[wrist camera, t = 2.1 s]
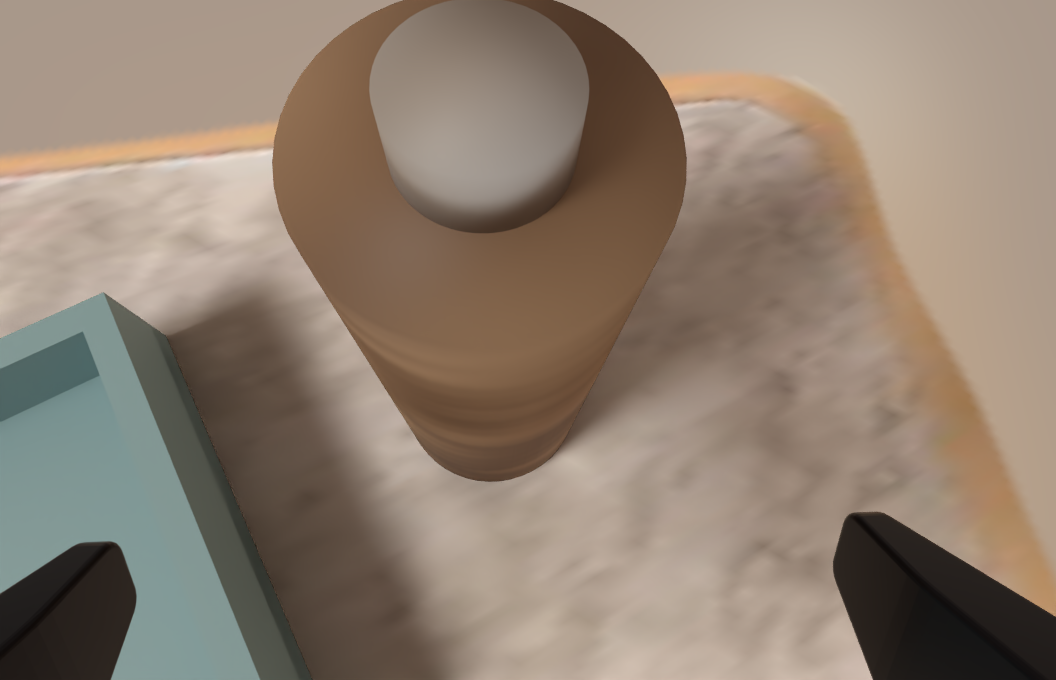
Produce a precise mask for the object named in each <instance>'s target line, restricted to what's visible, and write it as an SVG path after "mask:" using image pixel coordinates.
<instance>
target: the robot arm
mask: <svg viewBox="0 0 1056 680" xmlns="http://www.w3.org/2000/svg"><path fill="white" fill-rule="evenodd" d="M833 573H834V577H835V581H836V584H837V586H838V589H839V591H840V594H841V597H842V599H843V602H844V605H845V607H846V610H847V613H848V615H849V618H850V621H851V623H852V626H853V628H854V631H855V634H856V636H857V639H858V642H859V644H860V647H861V650H862V652H863V655H864V658H865V660H866V663H867V665H868V668H869V671H870V673H871V676H872V679H873V680H1056V617H1055V616H1053V615H1052V614H1050V613H1048V612H1047V611H1045V610H1044V609H1042V608H1040V607H1039V606H1037V605H1035V604H1034V603H1032V602H1030V601H1029V600H1027V599H1025V598H1024V597H1022V596H1020V595H1019V594H1017V593H1015V592H1014V591H1012V590H1010V589H1009V588H1007V587H1006V586H1004V585H1002V584H1001V583H999V582H997V581H996V580H994V579H992V578H991V577H989V576H987V575H986V574H984V573H982V572H981V571H979V570H977V569H976V568H974V567H972V566H971V565H969V564H968V563H966V562H964V561H963V560H961V559H959V558H958V557H956V556H954V555H953V554H951V553H949V552H948V551H946V550H944V549H943V548H941V547H939V546H938V545H936V544H935V543H933V542H931V541H930V540H928V539H926V538H925V537H923V536H921V535H920V534H918V533H916V532H915V531H913V530H911V529H910V528H908V527H906V526H905V525H903V524H901V523H900V522H898V521H897V520H895V519H893V518H892V517H890V516H888V515H886V514H884V513H881V512H857V513H851V514H849V515H848V516H847V517H846V518H845V521H844V523H843V527H842V530H841V534H840V538H839V541H838V545H837V548H836V552H835V556H834V560H833ZM136 601H137V594H136V588H135V585H134V582H133V580H132V577H131V574H130V571H129V568H128V566H127V563H126V560H125V557H124V554H123V552H122V549H121V547H120V546H119V545H118V544H117V543H115V542H111V541H100V542H83V543H78V544H76V545H74V546H72V547H71V548H69V549H68V550H66V551H65V552H63V553H61V554H60V555H58V556H57V557H55V558H54V559H52V560H51V561H49V562H48V563H46V564H45V565H43V566H42V567H40V568H38V569H37V570H35V571H34V572H32V573H31V574H29V575H28V576H26V577H25V578H23V579H22V580H20V581H19V582H17V583H16V584H14V585H12V586H11V587H9V588H8V589H6V590H5V591H3V592H2V593H0V680H111V678H112V675H113V672H114V669H115V666H116V664H117V661H118V658H119V655H120V652H121V649H122V646H123V643H124V641H125V638H126V635H127V632H128V629H129V626H130V623H131V620H132V618H133V615H134V611H135V608H136Z"/></svg>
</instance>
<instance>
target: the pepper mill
mask: <svg viewBox="0 0 1056 680" xmlns="http://www.w3.org/2000/svg"><path fill="white" fill-rule="evenodd" d="M686 161H687V157H686V150H685V143H684V135H683V132H682V128H681V125H680V121H679V118H678V114H677V112H676V110H675V107H674V105H673V103H672V101H671V98H670V96H669V94H668V92H667V90H666V89H665V87H664V86H663V84H662V82H661V81H660V79H659V77H658V76H657V74H656V73H655V72H654V70H653V69H652V68H651V67H650V65H649V64H648V63H647V62H646V61H645V59H644V58H643V57H642V56H641V55H640V54H639V53H638V52H637V51H636V50H635V49H634V48H633V47H632V46H631V45H630V44H629V43H628V42H627V41H626V40H625V39H623V38H622V37H620V36H619V35H618V34H617V33H615V32H614V31H613V30H611V29H610V28H608V27H607V26H606V25H604V24H603V23H600V22H599V21H597V20H596V19H594V18H592V17H590V16H589V15H587V14H585V13H583V12H581V11H579V10H577V9H574V8H572V7H570V6H567V5H565V4H563V3H560V2H557V1H554V0H403V1H400V2H397V3H394V4H392V5H389V6H387V7H385V8H383V9H380V10H378V11H376V12H374V13H372V14H370V15H368V16H367V17H365V18H363V19H361V20H360V21H358V22H356V23H355V24H353V25H352V26H350V27H349V28H348V29H346V30H345V31H343V32H342V33H341V34H340V35H338V36H337V37H336V38H334V39H333V40H332V41H331V42H330V43H329V44H328V45H327V46H326V47H325V48H324V49H323V50H322V51H321V52H319V53H318V54H317V55H316V56H315V58H314V59H313V60H312V62H311V63H310V64H309V65H308V67H307V68H306V69H305V70H304V72H303V73H302V74H301V76H300V77H299V79H298V81H297V82H296V84H295V86H294V88H293V89H292V91H291V93H290V94H289V96H288V99H287V101H286V104H285V106H284V109H283V111H282V113H281V115H280V119H279V123H278V127H277V131H276V135H275V139H274V150H273V160H272V165H273V181H274V189H275V194H276V198H277V203H278V207H279V211H280V214H281V216H282V219H283V221H284V224H285V226H286V229H287V231H288V234H289V235H290V237H291V239H292V241H293V242H294V244H295V246H296V247H297V249H298V251H299V253H300V254H301V256H302V258H303V259H304V261H305V262H306V264H307V266H308V267H309V269H310V270H311V272H312V273H313V275H314V277H315V278H316V280H317V281H318V283H319V284H320V286H321V288H322V289H323V291H324V292H325V294H326V296H327V297H328V299H329V300H330V302H331V303H332V305H333V307H334V308H335V310H336V311H337V313H338V315H339V316H340V318H341V319H342V321H343V322H344V324H345V326H346V327H347V329H348V330H349V332H350V334H351V335H352V337H353V338H354V340H355V341H356V343H357V345H358V346H359V348H360V349H361V351H362V353H363V354H364V356H365V357H366V359H367V360H368V362H369V364H370V365H371V367H372V368H373V370H374V372H375V373H376V375H377V376H378V378H379V379H380V381H381V383H382V384H383V386H384V387H385V389H386V391H387V392H388V394H389V395H390V397H391V398H392V400H393V402H394V403H395V405H396V406H397V408H398V410H399V411H400V413H401V414H402V416H403V417H404V419H405V421H406V422H407V424H408V425H409V427H410V429H411V430H412V432H413V433H414V435H415V436H416V438H417V440H418V441H419V443H420V444H421V446H422V447H423V448H424V450H425V451H426V452H427V453H428V455H429V456H431V457H432V458H433V459H434V460H435V461H436V462H437V463H438V464H440V465H441V466H442V467H444V468H445V469H447V470H449V471H451V472H453V473H454V474H457V475H459V476H462V477H465V478H468V479H473V480H477V481H487V482H491V481H504V480H509V479H513V478H517V477H520V476H523V475H525V474H527V473H529V472H531V471H533V470H535V469H536V468H538V467H539V466H541V465H542V464H543V463H545V462H546V461H547V460H548V459H549V458H551V456H552V455H553V454H554V453H555V452H556V451H557V450H558V448H559V447H560V446H561V444H562V443H563V441H564V440H565V438H566V436H567V434H568V432H569V430H570V428H571V426H572V424H573V422H574V420H575V418H576V416H577V414H578V413H579V411H580V409H581V407H582V405H583V403H584V401H585V399H586V397H587V395H588V393H589V391H590V389H591V388H592V386H593V384H594V382H595V380H596V378H597V376H598V374H599V372H600V370H601V368H602V366H603V364H604V362H605V361H606V359H607V357H608V355H609V353H610V351H611V349H612V347H613V345H614V343H615V341H616V339H617V337H618V335H619V334H620V332H621V330H622V328H623V326H624V324H625V322H626V320H627V318H628V316H629V314H630V312H631V310H632V308H633V307H634V305H635V303H636V301H637V299H638V297H639V295H640V293H641V291H642V289H643V287H644V285H645V283H646V281H647V280H648V278H649V276H650V274H651V272H652V270H653V268H654V266H655V264H656V262H657V260H658V258H659V256H660V254H661V253H662V251H663V249H664V247H665V245H666V243H667V241H668V239H669V237H670V235H671V233H672V231H673V229H674V227H675V224H676V221H677V218H678V215H679V212H680V209H681V206H682V202H683V197H684V191H685V185H686Z"/></svg>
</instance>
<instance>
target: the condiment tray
mask: <svg viewBox="0 0 1056 680" xmlns="http://www.w3.org/2000/svg"><path fill="white" fill-rule="evenodd" d="M100 541H111V542H115V543H117V544H118V545H119V546H120V547H121V549H122V552H123V554H124V557H125V560H126V563H127V566H128V568H129V571H130V574H131V577H132V580H133V582H134V585H135V588H136V594H137V601H136V608H135V611H134V615H133V618H132V620H131V623H130V626H129V629H128V632H127V635H126V638H125V641H124V643H123V646H122V649H121V652H120V655H119V658H118V661H117V664H116V666H115V669H114V672H113V675H112V678H111V680H312V678H311V676H310V673H309V671H308V669H307V666H306V664H305V662H304V659H303V657H302V655H301V652H300V650H299V648H298V645H297V643H296V640H295V638H294V636H293V633H292V631H291V629H290V626H289V624H288V622H287V619H286V617H285V615H284V612H283V610H282V608H281V605H280V603H279V601H278V598H277V596H276V593H275V591H274V589H273V586H272V584H271V582H270V579H269V577H268V575H267V572H266V570H265V568H264V565H263V563H262V561H261V558H260V556H259V554H258V551H257V549H256V546H255V544H254V542H253V539H252V537H251V535H250V532H249V530H248V528H247V525H246V523H245V521H244V518H243V516H242V514H241V511H240V509H239V507H238V504H237V502H236V499H235V497H234V495H233V492H232V490H231V488H230V485H229V483H228V481H227V478H226V476H225V474H224V471H223V469H222V467H221V464H220V462H219V460H218V457H217V455H216V453H215V450H214V448H213V445H212V443H211V441H210V438H209V436H208V434H207V431H206V429H205V427H204V424H203V422H202V420H201V417H200V415H199V413H198V410H197V408H196V406H195V403H194V401H193V398H192V396H191V394H190V391H189V389H188V387H187V384H186V382H185V380H184V377H183V375H182V373H181V370H180V368H179V366H178V363H177V361H176V359H175V356H174V354H173V351H172V349H171V347H170V344H169V342H168V340H167V337H166V336H165V335H164V334H162V333H161V332H160V331H158V330H157V329H155V328H154V327H152V326H151V325H149V324H148V323H147V322H145V321H144V320H142V319H141V318H139V317H138V316H137V315H135V314H134V313H132V312H131V311H129V310H128V309H127V308H125V307H124V306H122V305H121V304H119V303H118V302H116V301H115V300H114V299H112V298H111V297H109V296H108V295H106V294H105V293H104V292H103V293H101V294H99V295H96V296H94V297H92V298H90V299H88V300H85V301H83V302H81V303H79V304H76V305H74V306H72V307H70V308H67V309H65V310H63V311H61V312H58V313H56V314H54V315H52V316H49V317H47V318H45V319H43V320H40V321H38V322H36V323H34V324H31V325H29V326H27V327H25V328H22V329H20V330H18V331H16V332H13V333H11V334H9V335H7V336H5V337H2V338H0V593H2V592H3V591H5V590H6V589H8V588H9V587H11V586H12V585H14V584H16V583H17V582H19V581H20V580H22V579H23V578H25V577H26V576H28V575H29V574H31V573H32V572H34V571H35V570H37V569H38V568H40V567H42V566H43V565H45V564H46V563H48V562H49V561H51V560H52V559H54V558H55V557H57V556H58V555H60V554H61V553H63V552H65V551H66V550H68V549H69V548H71V547H72V546H74V545H76V544H78V543H83V542H100Z"/></svg>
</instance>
